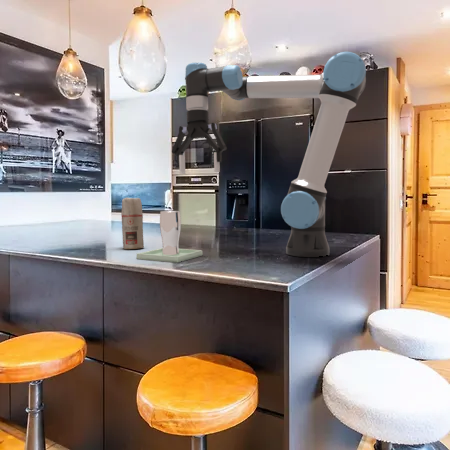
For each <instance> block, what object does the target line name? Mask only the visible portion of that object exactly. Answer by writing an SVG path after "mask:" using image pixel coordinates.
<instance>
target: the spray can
mask: <svg viewBox="0 0 450 450" xmlns="http://www.w3.org/2000/svg"><path fill="white" fill-rule="evenodd" d="M143 214H144V213H143V205H142V200H141V198H140V197H124V198H122V200H121V233H122V245H123V248H122V249H123V250H137V249H143V248H144V247H145V246H144V226H143V225H144V220H143V219H144V217H143Z"/></svg>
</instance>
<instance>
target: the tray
mask: <svg viewBox="0 0 450 450" xmlns="http://www.w3.org/2000/svg"><path fill="white" fill-rule="evenodd" d="M162 249H163V247H161V248H156V249H151V250H148V251H142V252H138V253H136V260H144V261H153V262H166V263H176V264H178V263H181V261H182V262H184V261H188V260H193V259H195V258H198V257H203V254H204V253H203V250H201V249H190V248H189V249H186V248H179V253H180V255H179V256H165V255H162Z"/></svg>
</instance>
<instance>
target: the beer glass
mask: <svg viewBox="0 0 450 450" xmlns="http://www.w3.org/2000/svg"><path fill="white" fill-rule="evenodd" d="M159 214H160V215H159V228H160V235H161V242H162V248H163V249H162V255H165V256H179V255H180V253H179V249H180V247H179V242H180V241H179V240H180V236H181V235H180V233H181V227H182V226H181V225H182V222H181V211H180V210H163V211H162V210H161V211H160V213H159Z"/></svg>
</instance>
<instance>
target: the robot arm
mask: <svg viewBox="0 0 450 450" xmlns="http://www.w3.org/2000/svg"><path fill="white" fill-rule="evenodd" d="M366 74H367V67H366V64H365V62H364V60H363V59H362V58H361V56H360V55H358V54H357V53H354V52H352V51H341V52H338V53H336V54H334V55H332V56H330V58H329V59H328V60H327V62H326V64H325V65H324V68H323V72H322V73H321V74H287V75H285V74H283V75H252V76H251V75H249V76H248V75H247V76H246V75H245V76H243V72H242V70H241V67H240V66H239V65H237V64H233V65H230V64H227V65H225V66H218V67H211V68H208V66H207V64H205V63H203V62H190V63H188V64H186V66H185V74H184V75H185V77H184V80H185V94H186V95H185V101H186V103H185V104H186V105H185V106H186V123H187V126H182V125H181V126H179V128H178V134H177V136H176V139H175V142H174V145H173V148H172V150H171V153H172V154H174V155H176V157H177V158H176V159H177V160H176V161H177V162H176V163H177V165H179V166H178V169H179V174H180V175H185V174H186V159H185V158H186V157H185V156H186V154H185V155H184V153H185V152H186V150H187V149H188V147H189V145H190V144H191V143H192V141H193V140H194V139H195V140H197V139H205V140H206V142H208V143H209V145H210V146H211V147H212V148H213V149H214V151H215V152H213V163H214V164H213V167H214V169H213V170H214V171H213V172H215V173H220V172H221V171H220V170H221V167H220V163H222V161H223V160H222V159H223V158H222V157H223V156H222V155H223V154H222V153H223V151H227V149H228V148H227V146H226V144H225V142H224V139H223V137H222V134H221V133H220V131H219V127H218V124H217V123H215V122H211V123H210V124H209V120H210V119H209V117H210V116H209V111H208V110H209V93H213V92H223V93H224V94H226V95H227V96H228V97H230V98H231V99H232V100H235V101H243V100H245V99H319V100H320V105H319V106H320V107H319V110H318V114H317V116H316V119H315V123H314V126H313V129H312V132H311V135H310V138H309V141H308V145H307V148H306V151H305V154H304V157H303V160H302V163H301V166H300V169H299V173H298V176H297V178H295V179H293V180H292V181H291V182H290V185H289V189H288V192H287V194H286V196H284V198H283V200H282V203H281V205H280V214H281V217H282V219H283V220H284V222H285V224H287V225H288V226H290V229H291V230H290V235H289V237H288V241H287V244H286V247H285V254H286V255H288V256H291V257H292V256H293V257H298V258H299V257H301V258H320V257H319V256H323V257H327V256H326V255H328V256H330V246H329V243H328V239H327V236H326V229H325V228H326V200H327V193H328V191H327V189H326V188H325V187H326V186H325V184H326V181H327V178H328V175H329V173H330V168H331V166H332V163H333V160H334V157H335V154H336V150H337V147H338V145H339V142H340V138H341V135H342V132H343V130H344V127H345V123H346V120H347V117H348V114H349V111H350V110H352V109H353V108H355V107H356V106H357V103H358V100H359V99H360V96H361V94H362V93H363V92H364V90H365V88H366V84H367V77H366ZM209 130H211V132H212V134H213V136H214V137H215V139H213V137H212V136H211V134H210V133H209ZM186 133H187V134H186Z"/></svg>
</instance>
